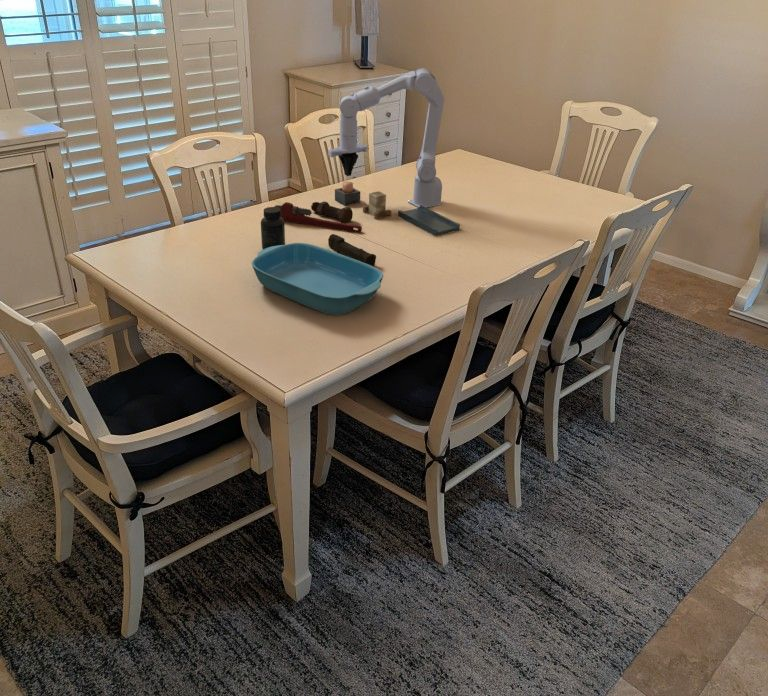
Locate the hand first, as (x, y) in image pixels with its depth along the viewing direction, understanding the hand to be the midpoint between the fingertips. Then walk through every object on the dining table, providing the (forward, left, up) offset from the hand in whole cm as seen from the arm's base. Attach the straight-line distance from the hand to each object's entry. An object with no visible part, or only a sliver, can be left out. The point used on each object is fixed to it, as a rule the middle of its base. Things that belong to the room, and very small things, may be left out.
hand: (347, 175), depth 234 cm
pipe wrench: (+21, +14, -10) cm, 27 cm away
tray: (-12, +30, -9) cm, 34 cm away
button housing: (0, 0, -9) cm, 9 cm away
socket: (-2, +15, -9) cm, 18 cm away
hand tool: (+25, +39, -10) cm, 47 cm away
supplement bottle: (+41, +23, -10) cm, 48 cm away
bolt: (+13, +10, -10) cm, 19 cm away
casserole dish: (+44, +53, -10) cm, 70 cm away
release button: (0, 0, -7) cm, 7 cm away
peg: (-2, +15, -10) cm, 18 cm away
